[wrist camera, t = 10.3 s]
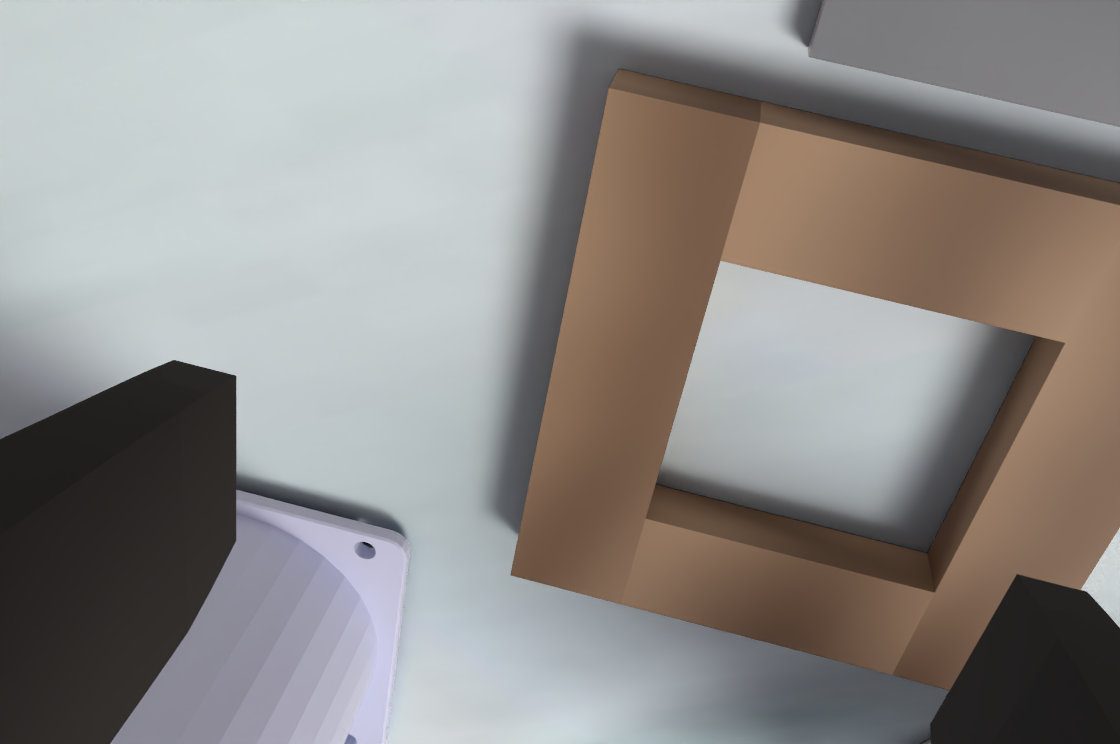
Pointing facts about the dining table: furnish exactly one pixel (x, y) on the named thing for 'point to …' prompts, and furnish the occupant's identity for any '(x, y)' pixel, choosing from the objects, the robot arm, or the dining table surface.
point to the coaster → (986, 48)
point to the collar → (849, 264)
